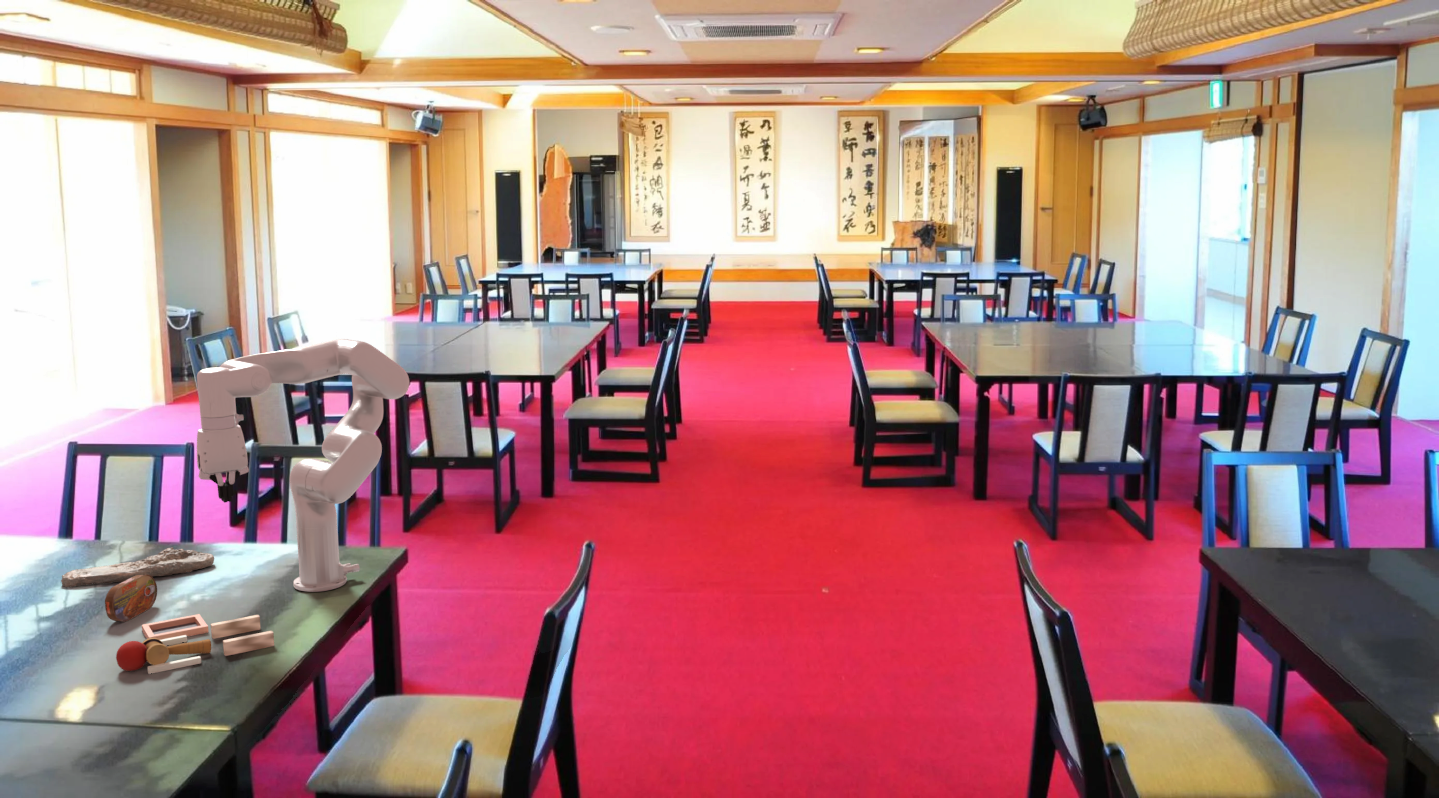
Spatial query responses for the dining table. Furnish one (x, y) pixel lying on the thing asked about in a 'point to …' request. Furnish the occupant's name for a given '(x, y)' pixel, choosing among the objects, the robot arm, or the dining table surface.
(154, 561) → the elongated rock
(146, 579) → the tin
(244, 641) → the lane
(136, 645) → the kendama
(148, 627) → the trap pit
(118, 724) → the dining table surface
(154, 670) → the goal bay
